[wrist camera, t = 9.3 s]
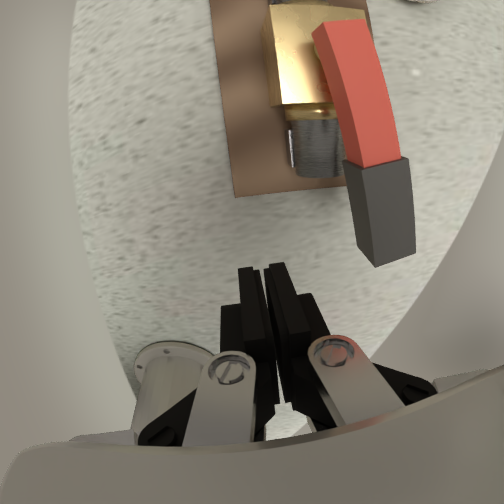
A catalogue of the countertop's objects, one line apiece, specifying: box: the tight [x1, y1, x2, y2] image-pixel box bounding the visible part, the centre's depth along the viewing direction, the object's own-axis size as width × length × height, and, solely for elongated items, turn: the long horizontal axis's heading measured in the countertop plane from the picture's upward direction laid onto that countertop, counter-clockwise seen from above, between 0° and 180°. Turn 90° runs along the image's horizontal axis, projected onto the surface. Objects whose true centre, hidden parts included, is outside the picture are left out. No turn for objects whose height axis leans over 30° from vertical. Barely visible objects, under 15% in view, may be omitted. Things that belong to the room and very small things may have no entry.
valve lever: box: [311, 19, 416, 268], centre depth 15 cm, size 3×14×4 cm, turn 17°
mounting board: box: [210, 0, 374, 198], centre depth 21 cm, size 22×14×2 cm, turn 6°
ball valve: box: [260, 0, 367, 178], centre depth 17 cm, size 18×6×6 cm, turn 6°
